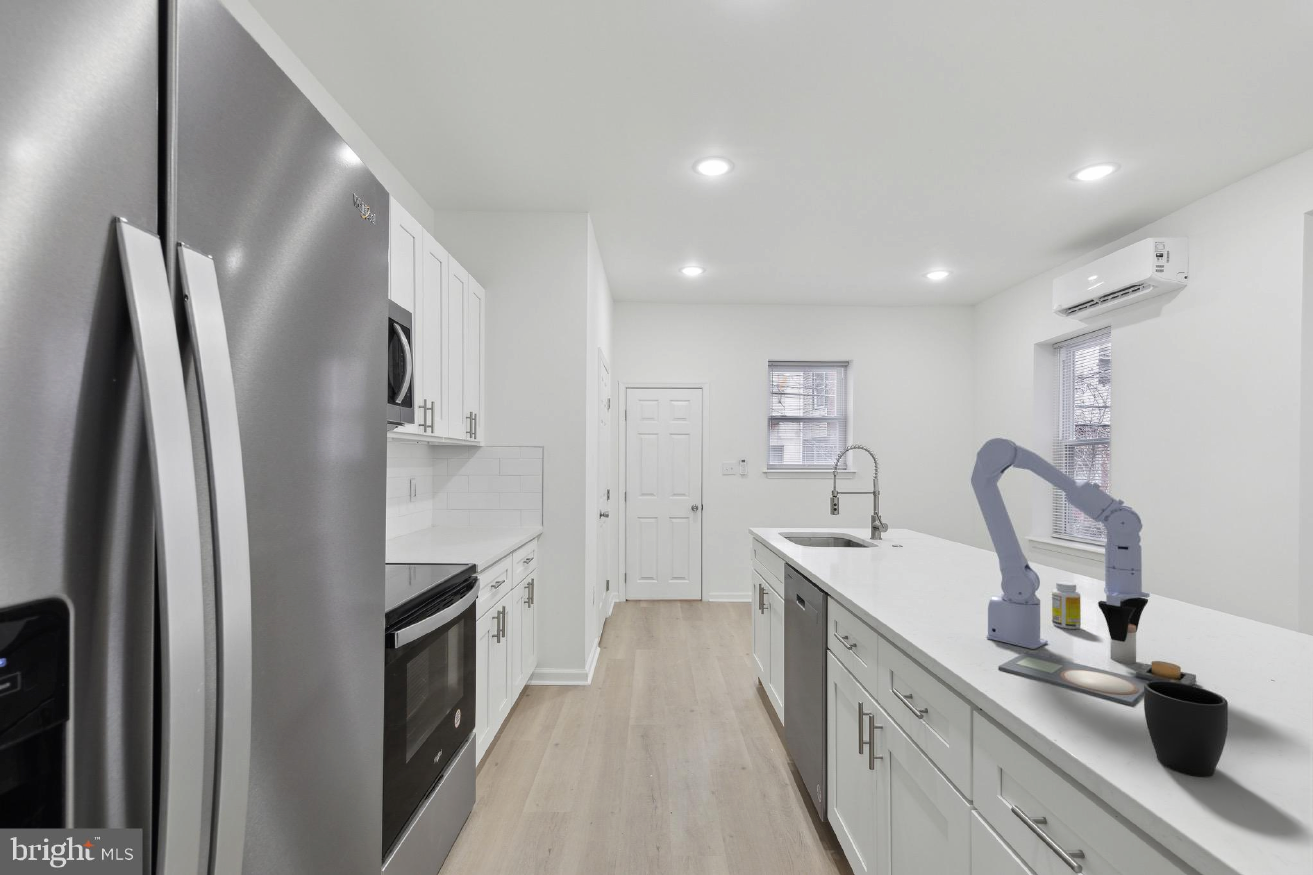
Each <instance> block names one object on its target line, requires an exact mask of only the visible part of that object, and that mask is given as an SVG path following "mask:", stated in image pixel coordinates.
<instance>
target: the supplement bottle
mask: <svg viewBox="0 0 1313 875" xmlns="http://www.w3.org/2000/svg"><path fill="white" fill-rule="evenodd" d="M1081 611H1082V610H1081V593H1079V592H1078V591H1077V584H1076V583H1074V582H1070V581H1060V580H1059V581H1058V580H1057V581H1056V582H1055V589H1053V590H1051V618H1052V619H1051V622H1052V624H1053V625H1054V626H1055V627H1057V628H1061V629H1066V630H1068V629H1069V630H1078V629H1080V628H1081V627H1082V626H1081V624H1082V623H1081V622H1082V621H1081V613H1082V612H1081Z"/></svg>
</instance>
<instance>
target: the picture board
mask: <svg viewBox="0 0 1313 875" xmlns="http://www.w3.org/2000/svg"><path fill="white" fill-rule="evenodd" d="M997 669H998V670H999V671H1001V672H1002V671H1003V672H1006V673H1010V674H1014V675H1017V676H1021V677H1025V678H1028V679H1032V680H1036V681H1040V682H1043V683H1046V684H1050V685H1054V686H1058V687H1061V688H1066V689H1068V690H1072V691H1076V692H1080V693H1082V694H1083V693H1084V694H1085V695H1086V694H1087V695H1091V696H1095V697H1098V698H1102V699H1105V700H1109V701H1113V702H1116V703H1120V704H1124V705H1126V706H1127V705H1128V706H1130V707H1131V706H1133V705H1134V704H1135V703H1136V702H1137V701H1138V700H1139V699H1141V697H1142V696H1144V684H1145V683H1146V682H1149V681H1147V680H1143V679H1139V678H1136V676H1135V677H1134V676H1130V675H1126V674H1122V673H1117V672H1114V671H1110V670H1105V669H1103V668H1102V669H1101V668H1096V667H1093V666H1090V665H1085V664H1080V663H1076V662H1072V661H1068V660H1063V659H1061V658H1060V659H1059V658H1056V657H1052V656H1048V655H1043V654H1040V653H1039V654H1038V653H1036V652H1031V651H1025V652H1023V653H1021V654H1020V655H1017V656H1015V657H1013V658H1012V659H1010V660H1008V661H1006V662H1004V663H1001V664H1000V665H998V667H997Z"/></svg>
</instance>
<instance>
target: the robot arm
mask: <svg viewBox="0 0 1313 875" xmlns="http://www.w3.org/2000/svg"><path fill="white" fill-rule="evenodd" d="M1010 467H1011V468H1017V469H1023V470H1028V471H1031V472H1032V473H1034V474H1035V475H1037V476H1038V477H1040V478H1042V479H1043V480H1044V481H1045V482H1048V483H1049V484H1051V485H1052V486H1054V487H1056V488H1057V489H1058V490H1060V491H1062V492H1064V493H1065V498H1066V502H1067V503H1068V504H1070V506H1073V507H1074V508H1075V509H1077V510H1079V511H1080V512H1081V513H1083V514H1084V515H1086V516H1087V517H1088V518H1090V519H1092V520H1094V522H1096V523H1103V526H1104V528H1105V530H1106V541H1105V543H1104V554H1105V555H1104V564H1105V565H1104V577H1105V578H1104V579H1105V584H1104V586H1105V587H1103V592H1104V593H1105V595H1106V599H1105V600H1106V601H1105V600H1099V601H1098V603H1097V605H1098V608H1099V609H1100V611H1101V612H1102V615H1103V617H1104V618H1105V622H1106V625H1107V629H1108V634H1109V636H1110V640H1111V639H1112V640H1117V641H1122V642H1125V640H1126V637H1127V632H1128V626H1129V624H1132V625H1135V626H1136V633H1137V632H1138V629H1139V624H1140V619H1141V616H1142V614H1143V612H1144V610H1145V607H1146V606H1147V604H1148V602H1149V599H1148V598H1150V596H1151V595H1150V593H1149V592H1144V591H1143V589H1142V587H1143V585H1142V584H1143V583H1142V582H1143V581H1142V578H1143V577H1142V575H1143V574H1142V570H1143V569H1142V567H1143V566H1142V563H1143V562H1142V546H1141V545H1140V543H1141V539H1142V538H1141V535H1140V532H1141V531H1142V529H1143V523H1142V519H1141V517H1140V515H1139V513H1137V512H1136V511H1135V509H1133V508H1132V507H1130V506H1127V505H1124V504H1125V501H1123V500H1122V499H1115V498H1114V497H1113V496H1112V495H1110V494H1108V493H1107V492H1106V491H1104V490H1102V489H1101V487H1102V486H1101V485H1100V484H1098V483H1097V482H1094V483H1092V482H1090V481H1088V480H1081V481H1076V480H1075V479H1074V478H1072V477H1070V476H1069V475H1067V474H1066V473H1065V472H1063V471H1061V469H1059V468H1057V467H1056V466H1055V465H1053V464H1052V463H1050V462H1049V461H1047V460H1046V459H1045V458H1043V457H1042V456H1040V455H1039V454H1038V453H1036V452H1034V451H1033V450H1030V449H1028V448H1026V447H1024V446H1022V445H1018V444H1016V443H1015V441H1012V440H1011V439H1007V438H1001V437H995V438H991V439H988V440H987V441H986V442H985V443H984V444H983V445H982V446H981V448H980V449H979V450H978V451H977V453H976V460H975V463H974V467H973V471H972V472H971V473H972V474H971V476H970V477H971V478H970V484H971V486H972V489H973V491H974V492H973V493H974V494H975V497H976V500H977V503H978V505H979V509H980V511H981V514H982V516H983V519H984V522H985V525H986V528H987V530H988V533H989V536H990V538H991V542H992V544H993V547H994V549H995V552H996V555H997V558H998V563H999V571H1000V574H1001V581H1000V586H1001V587H1000V588H1001V590H1002V594H1001V596H998V595H994V596H992V597H991V598H990V599H989V601H988V602H989V603H988V606H987V635H985V636H986V637H985V638H986V639H988V640H992V641H993V640H994V641H998V642H1000V643H1001V642H1002V643H1006V644H1009V645H1010V644H1011V645H1015V646H1018V647H1023V648H1027V649H1031V650H1036V649H1037V648H1040V647H1041V646H1044V645H1045V644H1047V643H1048V642H1049V641H1048V639H1045V638H1044V639H1043V638H1041V599H1040V598H1039V597H1038V596H1037V594H1036V592H1037V591H1038V590H1039V588H1040V585H1041V581H1040V580H1041V579H1040V577H1039V575H1038V573H1037V572H1036V571H1035V570H1034V569H1033V568H1032V567H1031V565H1030V564H1029V561H1028V558H1027V557H1026V556H1025V554H1024V552H1023V550H1022V547H1021V545H1020V543H1019V540H1018V537H1017V534H1016V531H1015V529H1014V526H1013V524H1012V523H1013V522H1012V521H1011V518H1010V515H1009V512H1008V510H1007V508H1006V505H1005V502H1004V500H1003V496H1002V495H1001V491H1000V489H999V486H998V482H999V481H1000V479H1001V478H1002V476H1003V474H1004V473H1005V471H1007V470H1009V468H1010Z"/></svg>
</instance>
